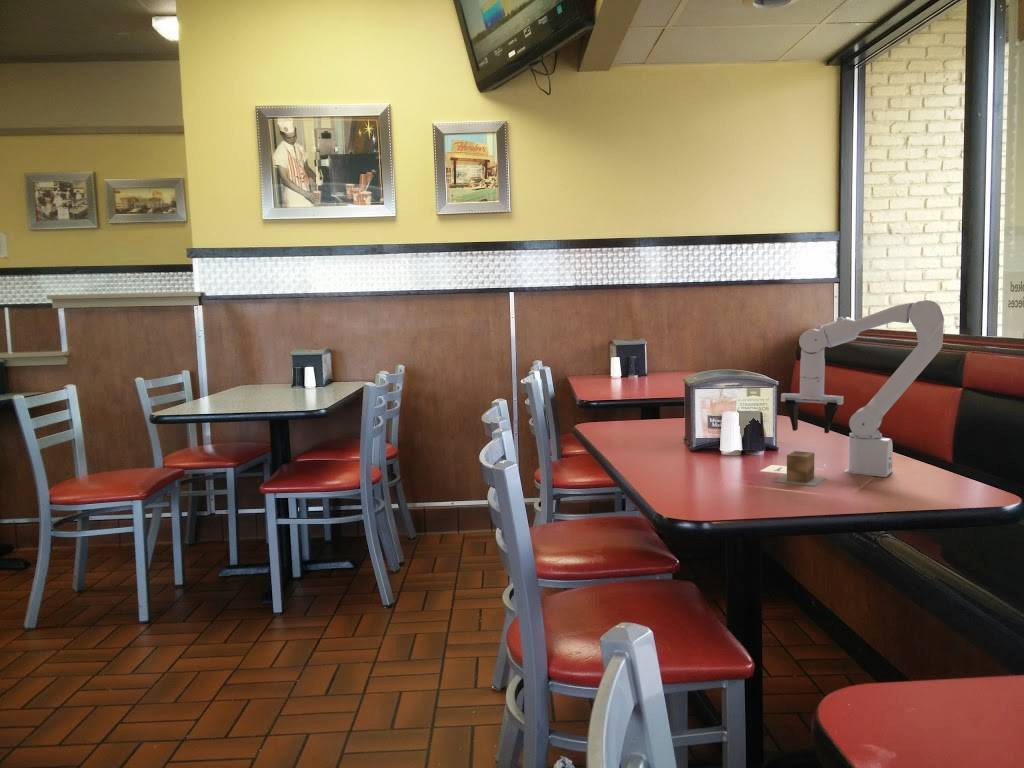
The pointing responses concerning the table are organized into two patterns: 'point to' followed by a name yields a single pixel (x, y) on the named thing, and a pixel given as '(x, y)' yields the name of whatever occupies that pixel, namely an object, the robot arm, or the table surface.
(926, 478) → the table surface
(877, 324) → the robot arm
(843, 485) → the table surface
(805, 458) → the walnut block
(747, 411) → the grey upright block
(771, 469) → the tile
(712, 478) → the table surface
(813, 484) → the grey mat
